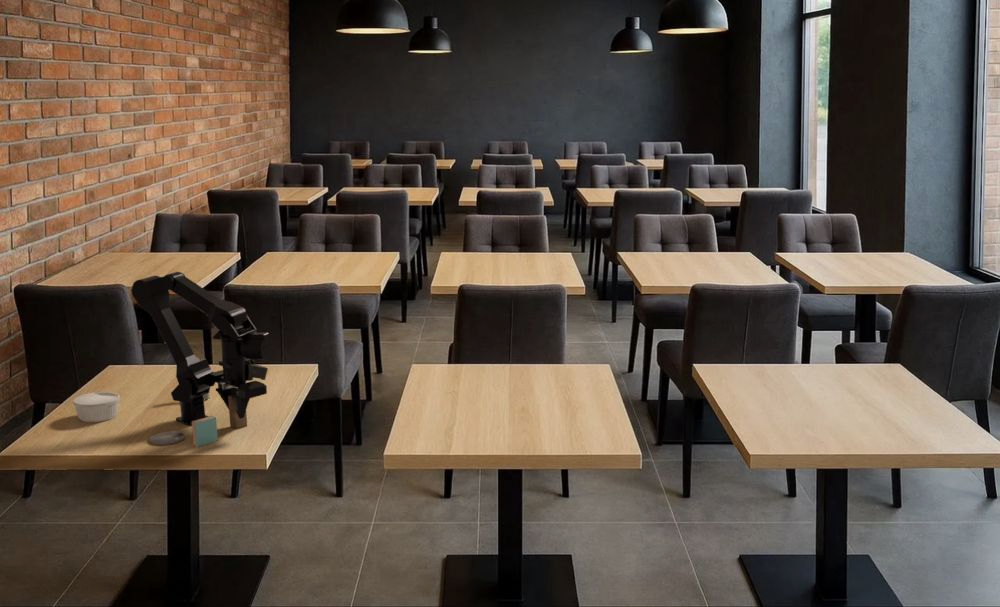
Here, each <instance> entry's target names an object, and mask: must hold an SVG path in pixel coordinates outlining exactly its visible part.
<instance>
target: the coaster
mask: <svg viewBox="0 0 1000 607" xmlns="http://www.w3.org/2000/svg"><path fill="white" fill-rule="evenodd" d="M184 439H185V433H183V432H181V431H164V432H163V431H162V432H159V433H156V434H154V435H151V436H150V437H149V442H150V444H152V445H154V444H156V446H169V445H174V443H175V444H178V443H180V442H182V441H184Z"/></svg>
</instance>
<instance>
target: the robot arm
mask: <svg viewBox="0 0 1000 607" xmlns="http://www.w3.org/2000/svg"><path fill="white" fill-rule="evenodd" d="M130 290H131V295H132V297H133V299H134V301H135V302H136V303H137V305H138V306H139V308H141V309H143V310H144V311H146V312H147V313H148V314H149V315H151V318H152V321H154V323H155V325H156V328H157V329H158V331H159V334H160V335H161V337H162V339H163V341H164V342H165V344H166V347H167V349H168V351H169V352H170V355H171V356H172V359H173V360H174V362H175V365H176V367H175V368H176V369H175V371H176V372H175V376H176V381H177V382H178V383H177V386H176V387H175V388H174V389H173V390H172V391H171V392H170V394H171V397H172V400H173V401H175V402H179V404H180V405H179V406H180V416H179V417H176V418H175V420H176V421H178V422H180V423H183V424H185V425H188V426H190V425H191V426H192V421H195V420H199V419H202V418H206V417H209V416H210V415H209V416H208V415H206V410H205V409H206V407H205V400H204V398H203V395H205V394H208V393H209V392H210V391H211V387H214V386H215V385H216V383H217V388H215V392H217V394H218V395H219V396H220V398H221V399H222V401H223V403H224V404H225V406H226V408H227V409H228V410H229V402H228V396H230V395H231V397H232V400H233V402H234V405H235V408H236V411H237V413H238V416H239V418H240V419H241V418H244V416H245V412H246V413H247V408H248V405H249V401H250V399H253V398H257V397H260V396H264V395H266V394H268V388H267V387H268V386H267V385H266V384H265V383H264V382H260V381H258V380H254V378H255V379H260V380H262V381H265V380H266V378H267V374H268V373H267V372H268V370H269V368H268V367H266V366H262V365H259V364H255V361H254V360H256V361H263V362H264V361H265V362H269V361H270V360H271V359H272V358H273V356H274V354H275V350H276V349H275V348H276V346H275V343H274V341H273V339H272V338H270V337H269V336H270V334H269V332H257V331H258V330H257V328H256V326H255V324H253V322H252V320H251V319H250V317H249V316H248V314H247V311H246V309H245V308H244V307H243V306H242V305H239V304H237V303H234V302H232V301H228V300H223V299H221V298H218V297H217V296H215V295H214V294H212V293H211V292H209V291H208V290H206V289H205V288H203V287H202V286H201V285H199V284H197V283H195V282H194V281H193V280H191V279H190V278H188V277H187V276H186V275H185V274H184V273H183V272H180V271H175V272H171V273H168V274H166V275H164V276H158V275H152V276H147V277H144V278H141V279H138V280H135V281H134V282H133V284H132V286H131V289H130ZM169 291H171V292H173V293H174V294H176V295H177V296H178V297H180V298H182V299H183V300H185V302H187V303H189V304H190V305H192V306H194V307H195V308H196V309H198V310H200V311H201V312H202V313H204V314H205V315H206V316H207V317H208V320H209V321H210V323H211V324H212V325H213V326H214V327H215V328H216V329H217V330H218V331H217V332H216V333H215V334H214V335H213V336H212V338H213V340H220V345H221V346H220V347H221V348H220V349H221V359H222V360H220V361H218V366H220V367H222V369H220V370H218V371H214V370H213V369H212V368H211V367H210V364H209V361H208V360H207V359H206V358H202V359H200V358H198V357H197V356H196V355H195V353H194V352H193V349H192V348H191V345H190V344H189V342H188V340H187V338H186V336H185V334H184V331H183V330H182V328H181V325H180V324H179V322H178V320H177V318H176V317H175V314H174V312H173V311H172V309H171V307H170V292H169ZM247 381H249V382H247Z"/></svg>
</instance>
